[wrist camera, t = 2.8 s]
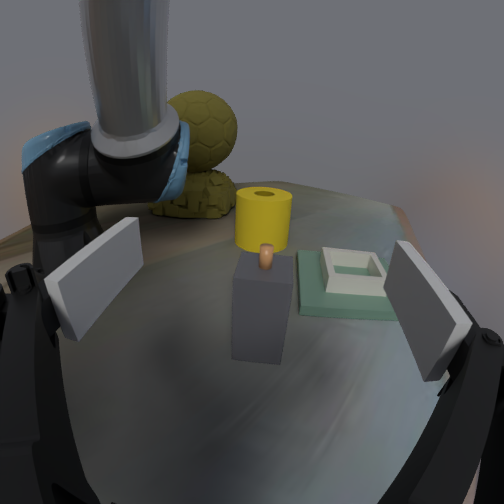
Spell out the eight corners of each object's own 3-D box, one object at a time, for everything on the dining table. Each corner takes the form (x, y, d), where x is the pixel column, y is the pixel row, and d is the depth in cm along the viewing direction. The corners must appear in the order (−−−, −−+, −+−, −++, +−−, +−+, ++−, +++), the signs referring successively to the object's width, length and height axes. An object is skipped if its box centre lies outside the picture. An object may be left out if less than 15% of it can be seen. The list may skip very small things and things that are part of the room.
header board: (299, 314, 36) (303, 288, 34) (296, 257, 50) (299, 236, 48) (410, 320, 34) (420, 297, 32) (382, 265, 48) (387, 245, 47)
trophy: (138, 217, 64) (134, 90, 51) (168, 193, 84) (168, 95, 71) (231, 222, 63) (236, 84, 50) (241, 196, 83) (246, 94, 70)
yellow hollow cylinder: (286, 255, 50) (292, 204, 46) (230, 249, 51) (231, 198, 47) (287, 234, 59) (292, 189, 55) (239, 229, 60) (241, 185, 56)
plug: (231, 359, 28) (233, 256, 23) (239, 328, 33) (242, 232, 27) (279, 364, 28) (296, 262, 23) (281, 333, 32) (295, 237, 27)
